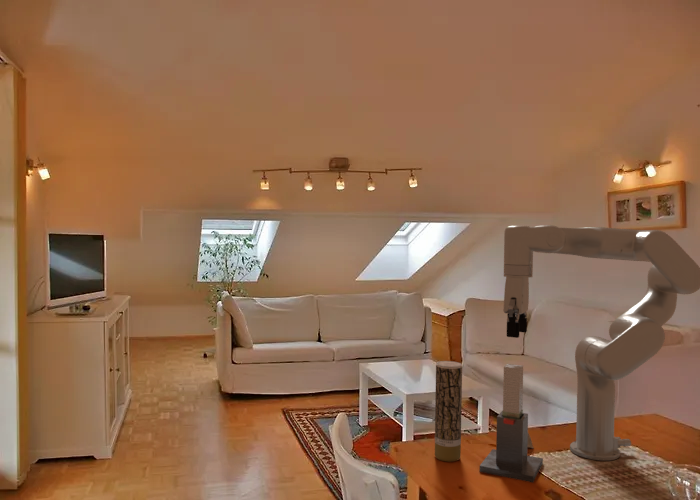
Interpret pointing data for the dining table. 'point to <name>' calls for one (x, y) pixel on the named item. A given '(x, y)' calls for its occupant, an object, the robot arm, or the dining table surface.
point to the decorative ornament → (529, 442)
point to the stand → (512, 451)
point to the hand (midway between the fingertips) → (516, 334)
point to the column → (513, 391)
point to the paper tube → (448, 411)
